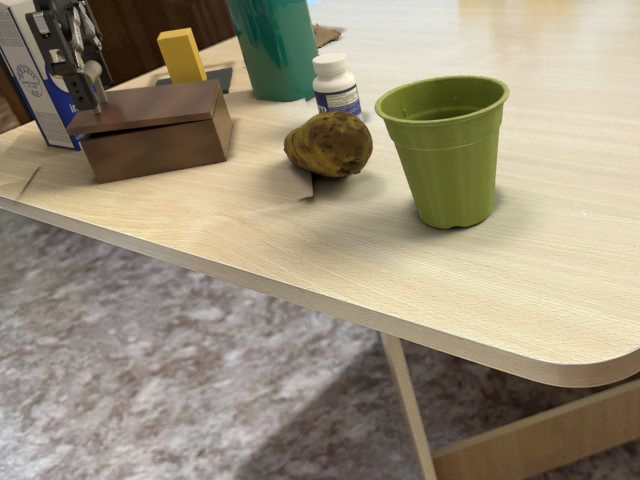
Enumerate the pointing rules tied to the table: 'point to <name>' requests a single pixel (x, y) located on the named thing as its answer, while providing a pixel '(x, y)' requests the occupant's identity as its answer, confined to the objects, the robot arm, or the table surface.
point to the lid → (144, 105)
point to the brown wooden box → (159, 147)
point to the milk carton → (36, 77)
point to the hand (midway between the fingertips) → (96, 96)
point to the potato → (330, 144)
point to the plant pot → (447, 144)
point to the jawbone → (324, 35)
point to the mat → (209, 78)
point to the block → (181, 56)
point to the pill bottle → (335, 85)
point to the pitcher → (276, 47)
